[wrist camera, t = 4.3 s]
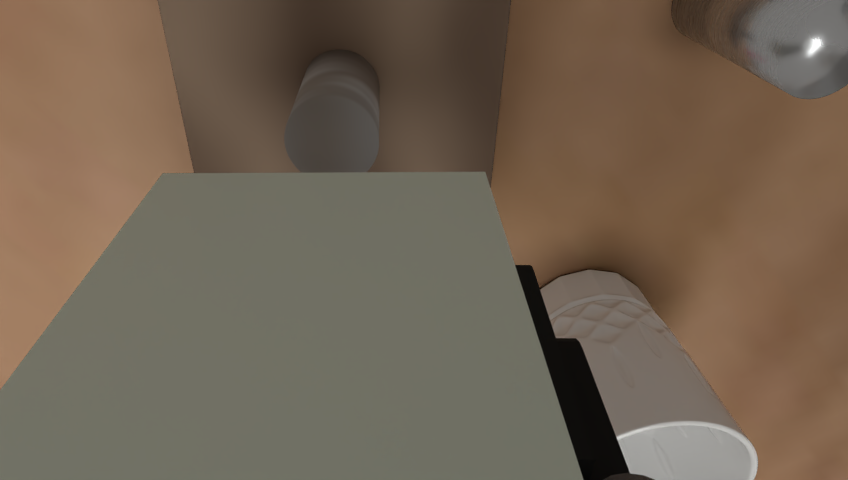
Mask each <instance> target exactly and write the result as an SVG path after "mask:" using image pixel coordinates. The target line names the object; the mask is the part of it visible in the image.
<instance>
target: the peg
mask: <svg viewBox="0 0 848 480" xmlns="http://www.w3.org/2000/svg"><path fill="white" fill-rule="evenodd" d="M672 19H673V22H674V24H675V26H676V28H677V29H678V30H679V31H680V32H681V33H682V34H683V35H685V36H687V37H688V38H690V39H692V40H694V41H695V42H697V43H699V44H701V45H703V46H704V47H706V48H708V49H710V50H712V51H713V52H715V53H717V54H719V55H720V56H722V57H724V58H726V59H728V60H729V61H731V62H733V63H735V64H737V65H738V66H740V67H742V68H744V69H745V70H747V71H749V72H751V73H753V74H754V75H756V76H758V77H760V78H762V79H763V80H765V81H767V82H769V83H770V84H772V85H774V86H776V87H778V88H779V89H781V90H783V91H785V92H786V93H788V94H790V95H792V96H794V97H797V98H801V99H815V98H821V97H824V96H827V95H830V94H832V93H834V92H836V91H838V90H840V89H841V88H843V87H844V86H846V85H847V84H848V0H673V3H672Z"/></svg>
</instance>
